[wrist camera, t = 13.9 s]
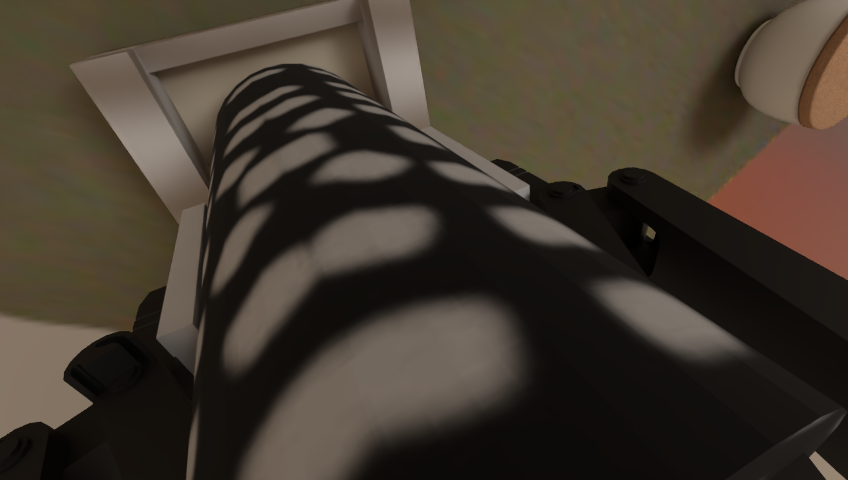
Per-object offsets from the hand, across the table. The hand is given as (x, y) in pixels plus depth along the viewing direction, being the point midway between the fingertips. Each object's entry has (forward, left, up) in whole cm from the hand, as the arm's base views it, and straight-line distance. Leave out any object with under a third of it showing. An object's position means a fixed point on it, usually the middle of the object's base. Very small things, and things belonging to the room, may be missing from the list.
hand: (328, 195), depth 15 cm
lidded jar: (+6, +44, -10) cm, 46 cm away
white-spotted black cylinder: (0, 0, -7) cm, 7 cm away
